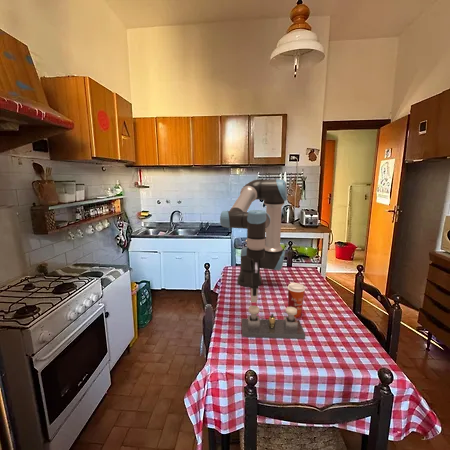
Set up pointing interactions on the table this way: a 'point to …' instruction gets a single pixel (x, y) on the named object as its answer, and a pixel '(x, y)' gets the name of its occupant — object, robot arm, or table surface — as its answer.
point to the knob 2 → (291, 313)
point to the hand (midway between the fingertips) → (254, 301)
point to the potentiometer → (272, 321)
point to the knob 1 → (253, 312)
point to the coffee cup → (296, 297)
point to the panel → (279, 331)
